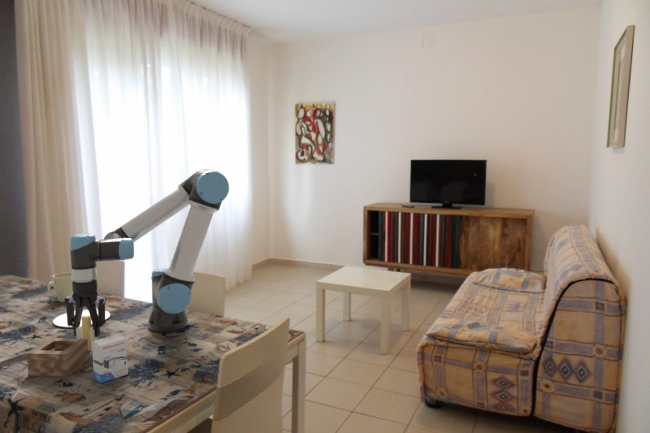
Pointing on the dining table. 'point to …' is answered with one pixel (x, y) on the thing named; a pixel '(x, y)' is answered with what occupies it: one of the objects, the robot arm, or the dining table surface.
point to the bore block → (57, 357)
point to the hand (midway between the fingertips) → (87, 345)
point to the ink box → (110, 358)
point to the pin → (87, 330)
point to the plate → (62, 319)
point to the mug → (62, 285)
